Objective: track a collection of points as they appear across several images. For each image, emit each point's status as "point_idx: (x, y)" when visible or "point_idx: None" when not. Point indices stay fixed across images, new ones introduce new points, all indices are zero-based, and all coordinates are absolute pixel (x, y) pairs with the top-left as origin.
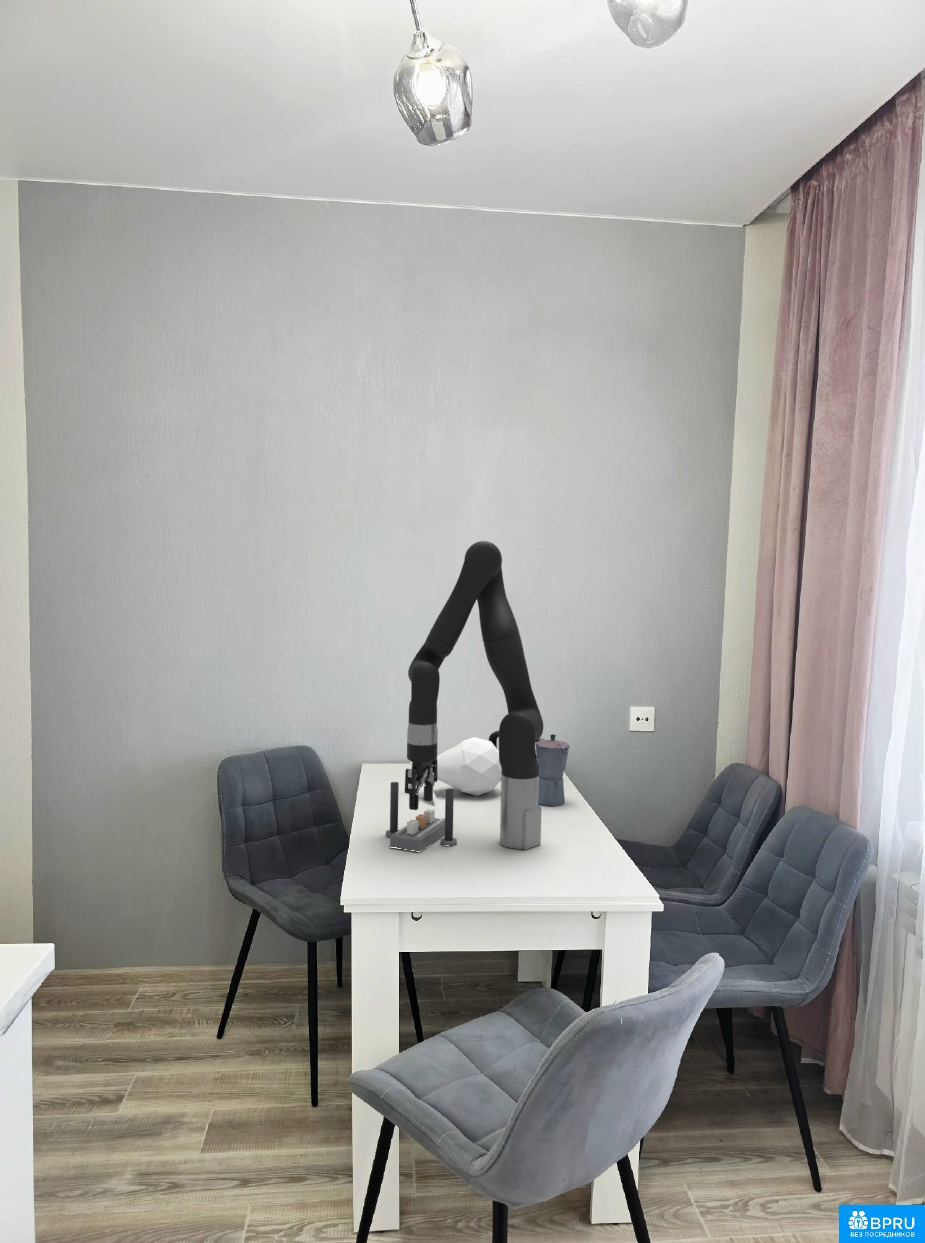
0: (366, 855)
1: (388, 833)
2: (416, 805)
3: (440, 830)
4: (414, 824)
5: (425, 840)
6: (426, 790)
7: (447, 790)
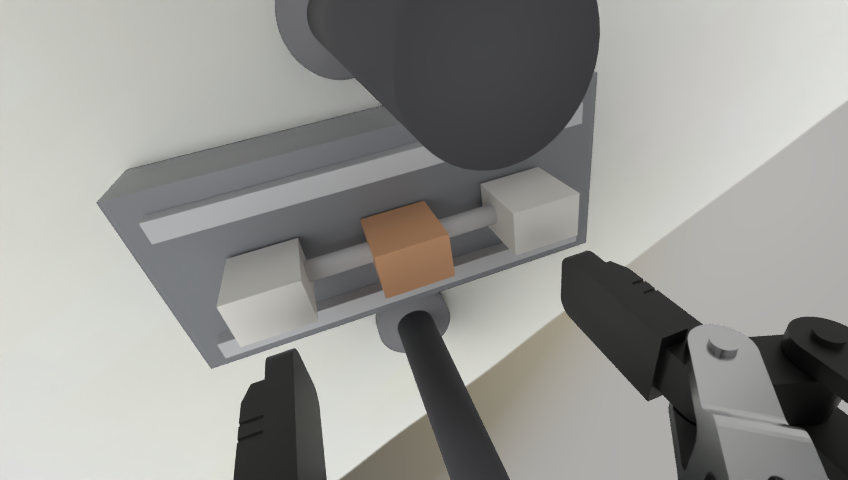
0: (649, 222)
1: (447, 322)
2: (609, 273)
3: (288, 144)
4: (562, 192)
5: None
6: (318, 470)
7: (587, 65)
